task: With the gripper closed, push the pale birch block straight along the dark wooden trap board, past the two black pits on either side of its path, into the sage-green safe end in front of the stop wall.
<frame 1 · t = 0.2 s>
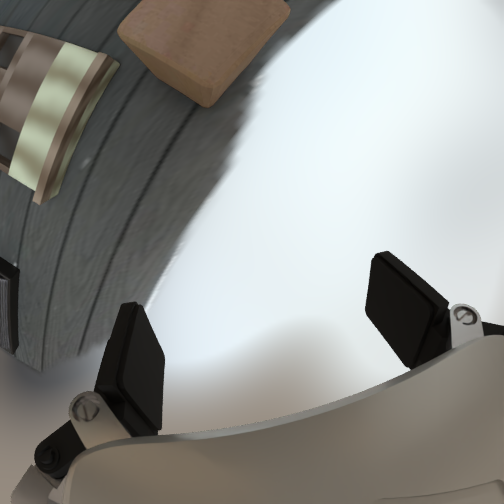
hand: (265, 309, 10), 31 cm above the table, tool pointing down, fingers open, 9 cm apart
trap board: (6, 93, 23), on the table
block: (202, 66, 31), on the table
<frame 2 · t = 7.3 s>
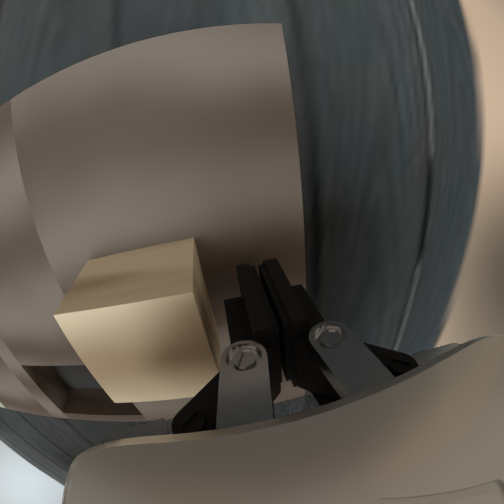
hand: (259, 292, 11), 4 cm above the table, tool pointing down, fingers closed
birch block: (154, 297, 12), point 3 cm above the table, touching gripper, trap board
trap board: (9, 297, 13), on the table
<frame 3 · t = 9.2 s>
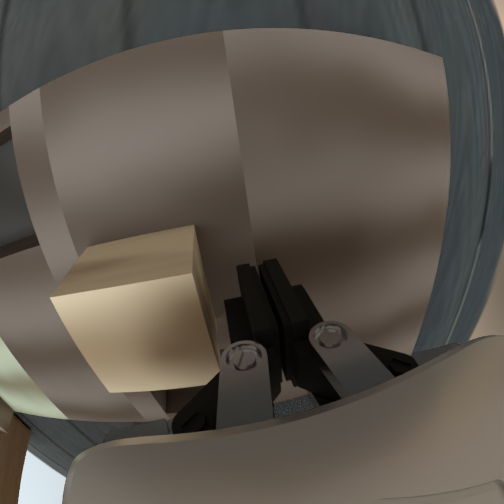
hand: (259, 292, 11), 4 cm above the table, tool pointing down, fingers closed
birch block: (152, 286, 12), point 3 cm above the table, touching gripper, trap board
trap board: (115, 278, 14), on the table
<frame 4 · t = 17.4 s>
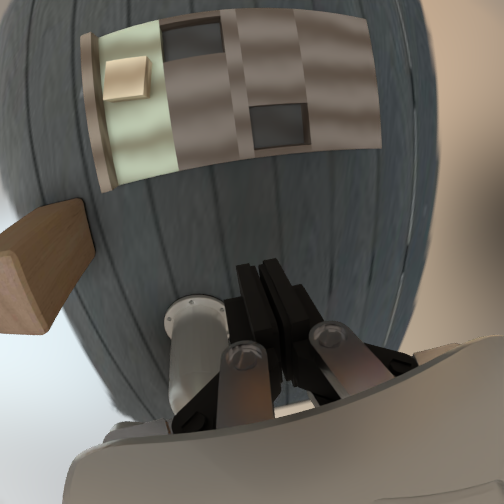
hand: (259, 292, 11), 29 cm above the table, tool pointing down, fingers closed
birch block: (132, 82, 27), point 3 cm above the table, touching trap board
trap board: (241, 81, 32), on the table
block: (66, 230, 36), on the table
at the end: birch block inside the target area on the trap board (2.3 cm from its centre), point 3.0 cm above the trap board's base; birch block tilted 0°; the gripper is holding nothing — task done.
